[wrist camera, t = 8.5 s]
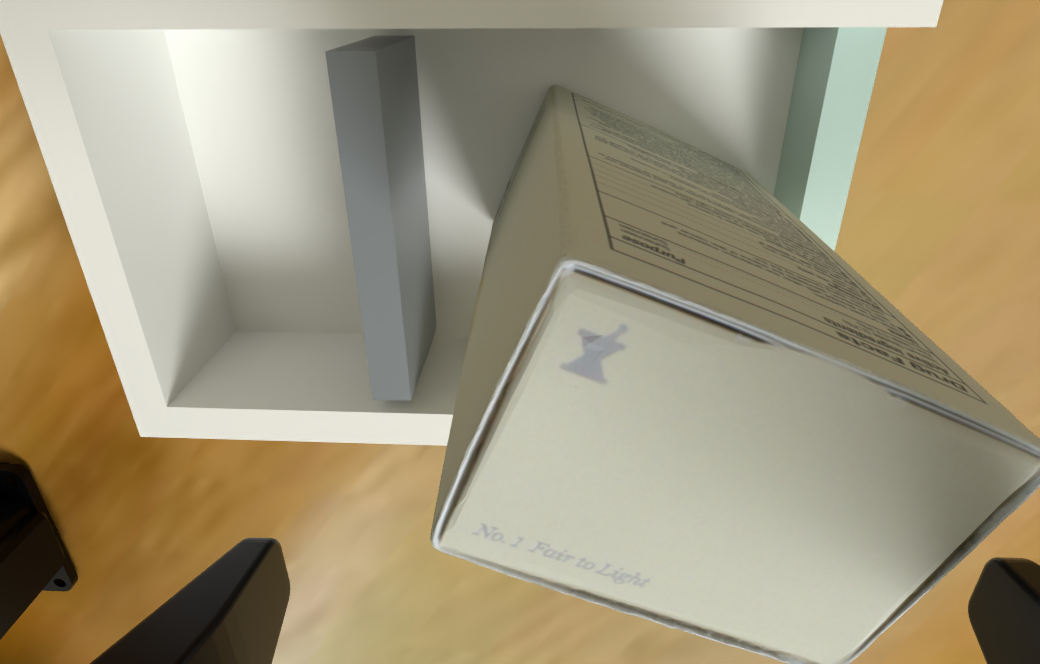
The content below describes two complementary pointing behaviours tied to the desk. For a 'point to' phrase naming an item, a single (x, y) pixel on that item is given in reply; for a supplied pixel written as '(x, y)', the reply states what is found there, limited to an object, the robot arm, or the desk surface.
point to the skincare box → (707, 406)
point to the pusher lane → (318, 178)
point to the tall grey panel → (386, 205)
